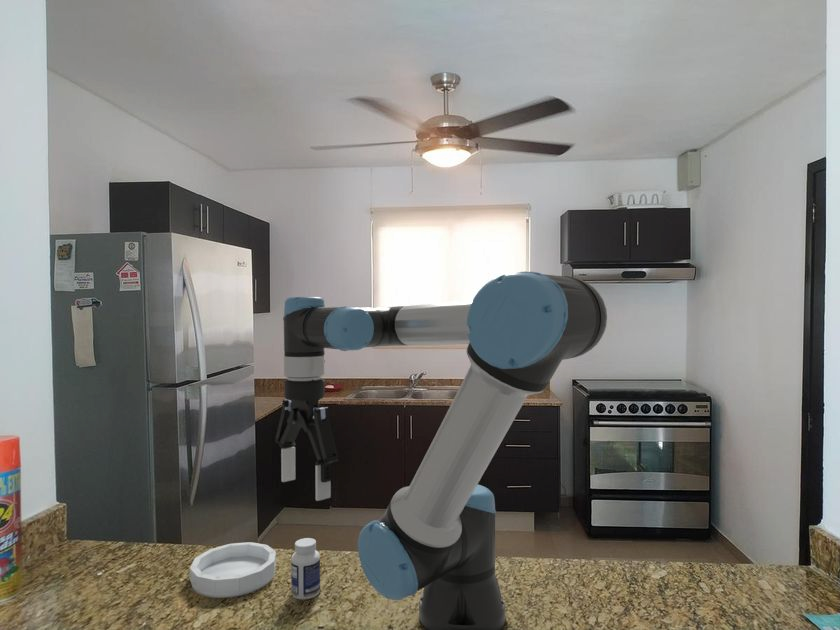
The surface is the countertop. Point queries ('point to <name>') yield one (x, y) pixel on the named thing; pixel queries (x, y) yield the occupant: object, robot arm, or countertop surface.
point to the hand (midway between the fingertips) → (304, 489)
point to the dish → (233, 570)
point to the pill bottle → (305, 569)
